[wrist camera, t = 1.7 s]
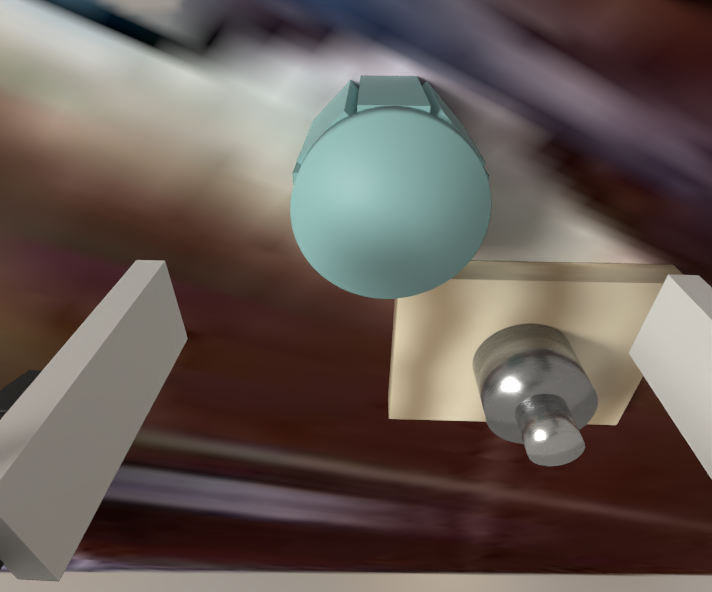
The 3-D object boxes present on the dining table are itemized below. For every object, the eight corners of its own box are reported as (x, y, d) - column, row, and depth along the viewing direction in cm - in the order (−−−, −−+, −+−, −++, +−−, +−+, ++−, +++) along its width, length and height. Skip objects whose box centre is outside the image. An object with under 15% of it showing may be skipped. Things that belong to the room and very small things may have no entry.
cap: (314, 224, 25) (297, 296, 19) (306, 75, 20) (281, 112, 15) (450, 226, 25) (473, 300, 19) (471, 77, 20) (510, 115, 15)
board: (388, 397, 33) (389, 418, 31) (397, 259, 26) (399, 278, 24) (604, 402, 33) (616, 425, 31) (673, 264, 26) (693, 284, 24)
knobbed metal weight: (465, 391, 30) (486, 481, 24) (481, 322, 26) (508, 409, 21) (556, 394, 29) (596, 484, 24) (583, 324, 26) (637, 412, 21)
